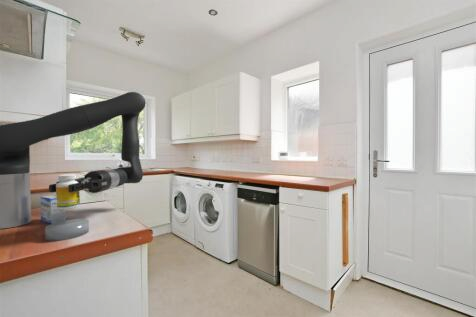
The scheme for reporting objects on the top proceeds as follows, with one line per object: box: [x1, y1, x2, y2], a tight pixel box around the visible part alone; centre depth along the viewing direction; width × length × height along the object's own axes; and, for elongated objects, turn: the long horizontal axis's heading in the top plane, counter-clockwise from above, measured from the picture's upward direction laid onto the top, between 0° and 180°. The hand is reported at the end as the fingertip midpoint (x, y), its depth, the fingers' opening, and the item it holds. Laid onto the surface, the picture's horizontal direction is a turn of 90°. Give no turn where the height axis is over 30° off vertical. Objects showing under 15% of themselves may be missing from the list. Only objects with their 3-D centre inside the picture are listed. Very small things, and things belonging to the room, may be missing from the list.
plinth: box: [44, 218, 90, 242], centre depth 64 cm, size 10×10×3 cm
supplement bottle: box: [55, 173, 81, 210], centre depth 64 cm, size 5×5×10 cm
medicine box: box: [40, 195, 67, 224], centre depth 78 cm, size 8×4×9 cm, turn 62°
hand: (60, 188), depth 62 cm, fingers closed on supplement bottle, 5 cm apart
